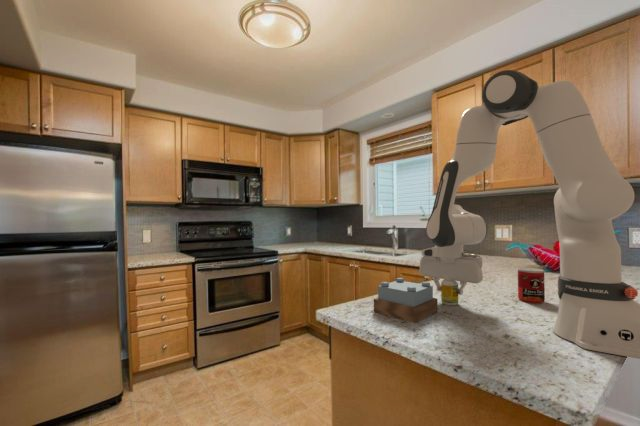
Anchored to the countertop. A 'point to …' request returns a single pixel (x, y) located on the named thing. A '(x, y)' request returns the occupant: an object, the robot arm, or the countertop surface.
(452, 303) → the supplement bottle
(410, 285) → the top brick
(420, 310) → the base brick
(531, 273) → the canned food
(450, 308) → the countertop surface
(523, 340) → the countertop surface
